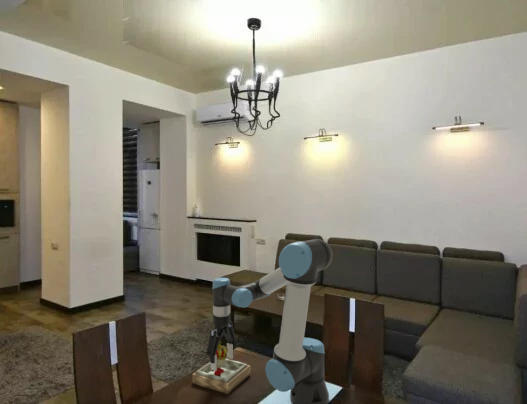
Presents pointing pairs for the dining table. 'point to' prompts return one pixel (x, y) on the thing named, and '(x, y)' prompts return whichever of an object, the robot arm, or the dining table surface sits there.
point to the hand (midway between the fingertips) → (222, 363)
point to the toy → (220, 359)
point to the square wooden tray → (222, 376)
